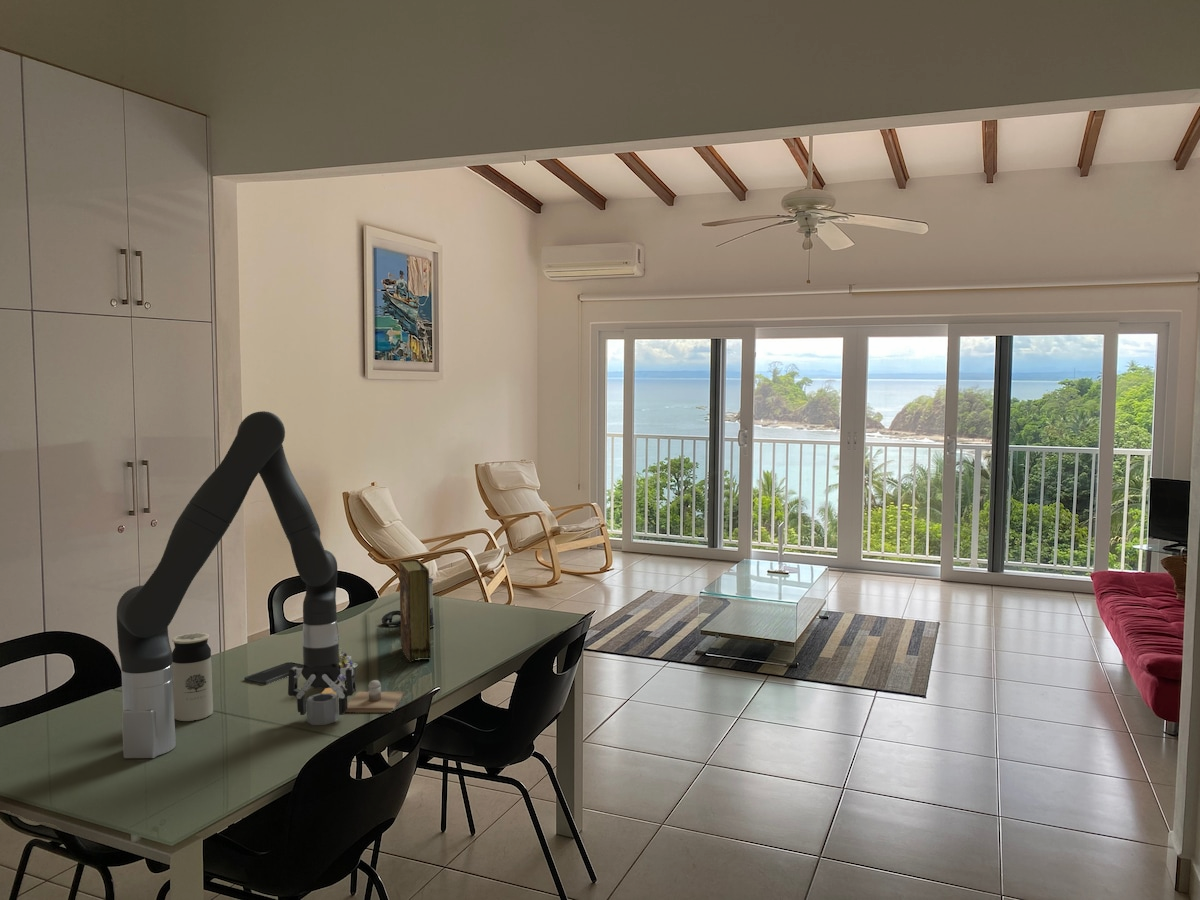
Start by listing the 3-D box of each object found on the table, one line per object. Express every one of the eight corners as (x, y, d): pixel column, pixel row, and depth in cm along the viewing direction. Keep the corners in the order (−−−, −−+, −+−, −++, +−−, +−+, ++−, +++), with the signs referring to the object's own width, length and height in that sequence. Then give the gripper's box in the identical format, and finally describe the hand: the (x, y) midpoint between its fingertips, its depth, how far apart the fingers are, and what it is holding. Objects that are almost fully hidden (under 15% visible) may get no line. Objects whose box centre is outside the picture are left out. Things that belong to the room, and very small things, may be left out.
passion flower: (341, 710, 217) (325, 681, 209) (308, 696, 221) (292, 666, 214) (370, 675, 224) (356, 645, 217) (338, 661, 229) (323, 632, 221)
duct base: (393, 712, 200) (392, 688, 200) (344, 712, 200) (343, 688, 200) (404, 695, 211) (403, 672, 211) (358, 695, 211) (357, 672, 211)
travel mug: (175, 712, 201) (172, 634, 200) (214, 707, 204) (211, 630, 203) (172, 724, 194) (169, 643, 193) (212, 719, 197) (209, 639, 196)
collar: (332, 725, 193) (331, 702, 193) (304, 725, 193) (303, 702, 193) (345, 709, 203) (344, 687, 202) (318, 709, 203) (318, 687, 202)
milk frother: (435, 630, 270) (434, 582, 269) (382, 634, 266) (381, 585, 265) (432, 618, 284) (431, 572, 283) (381, 622, 280) (380, 575, 279)
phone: (310, 665, 233) (264, 682, 220) (310, 670, 233) (264, 686, 220) (288, 661, 236) (242, 677, 223) (288, 665, 237) (242, 682, 223)
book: (400, 647, 251) (398, 560, 250) (419, 645, 253) (417, 558, 252) (410, 663, 236) (408, 571, 235) (430, 661, 238) (428, 569, 237)
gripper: (282, 646, 191) (284, 720, 192) (348, 646, 191) (350, 719, 192) (294, 637, 199) (296, 708, 200) (357, 636, 199) (359, 707, 200)
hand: (322, 713), depth 196 cm, fingers open, 8 cm apart
